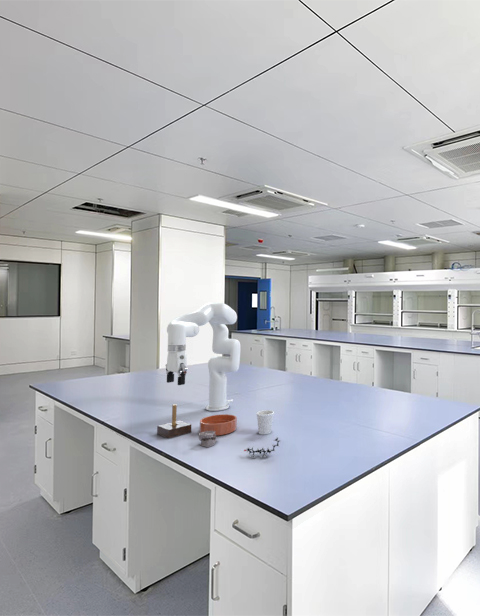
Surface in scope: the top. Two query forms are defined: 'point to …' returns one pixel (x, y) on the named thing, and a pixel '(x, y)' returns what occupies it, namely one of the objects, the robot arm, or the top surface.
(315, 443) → the top surface
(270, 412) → the dixie cup
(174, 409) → the light wooden dowel
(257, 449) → the molecular model
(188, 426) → the holder
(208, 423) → the mixing bowl
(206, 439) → the dental mold
